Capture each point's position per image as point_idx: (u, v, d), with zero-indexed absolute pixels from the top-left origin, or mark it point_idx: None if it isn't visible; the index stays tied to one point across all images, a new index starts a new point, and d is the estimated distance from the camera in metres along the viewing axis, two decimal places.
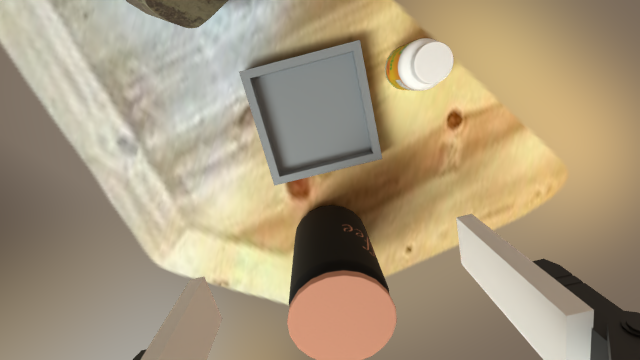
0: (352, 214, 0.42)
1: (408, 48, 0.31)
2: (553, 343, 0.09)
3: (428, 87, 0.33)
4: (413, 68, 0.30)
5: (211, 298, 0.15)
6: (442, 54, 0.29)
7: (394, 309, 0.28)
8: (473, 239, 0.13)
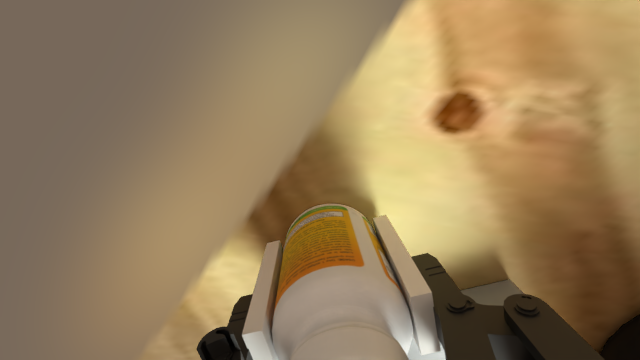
0: None
1: None
2: (412, 321, 0.11)
3: (409, 328, 0.11)
4: None
5: None
6: None
7: None
8: (380, 236, 0.15)
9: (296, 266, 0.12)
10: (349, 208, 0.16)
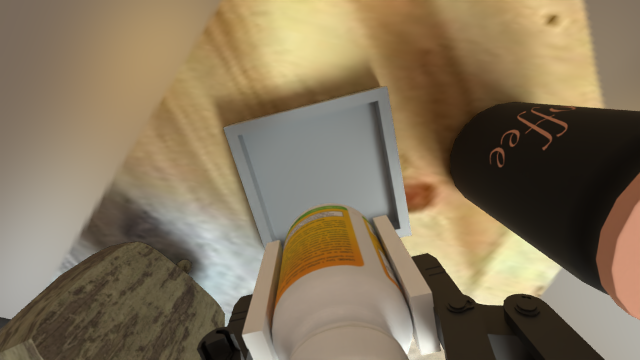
0: (471, 129, 0.27)
1: None
2: (412, 321, 0.11)
3: (409, 327, 0.11)
4: None
5: None
6: None
7: None
8: (380, 236, 0.15)
9: (296, 266, 0.12)
10: (349, 208, 0.16)
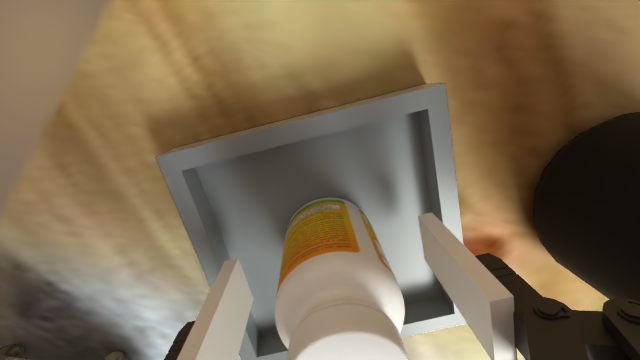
0: (585, 157, 0.16)
1: None
2: (484, 327, 0.10)
3: (401, 308, 0.12)
4: None
5: (244, 278, 0.16)
6: None
7: None
8: (429, 235, 0.14)
9: (297, 253, 0.13)
10: (346, 202, 0.17)
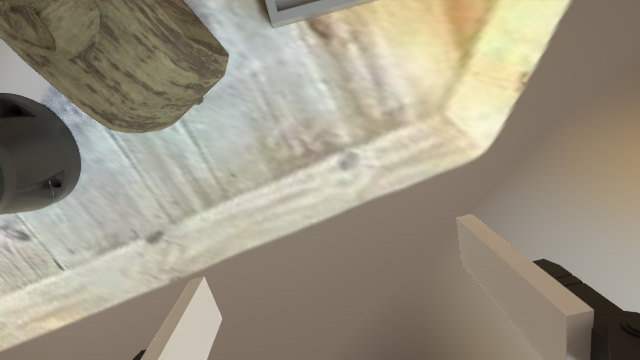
0: None
1: None
2: (553, 343, 0.09)
3: None
4: None
5: (211, 298, 0.15)
6: None
7: None
8: (473, 239, 0.13)
9: None
10: None
